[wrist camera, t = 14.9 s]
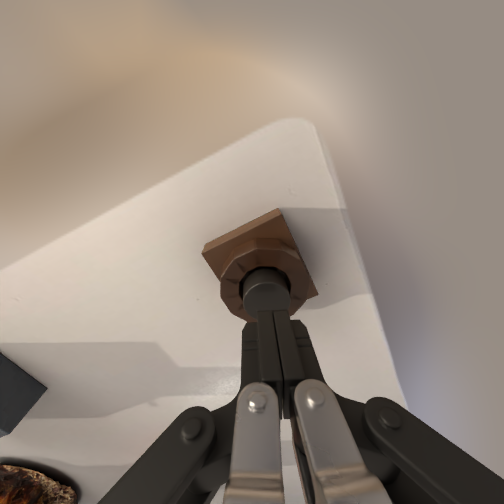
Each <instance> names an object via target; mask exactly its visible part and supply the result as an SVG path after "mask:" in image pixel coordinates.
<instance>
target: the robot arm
mask: <svg viewBox="0 0 504 504" xmlns="http://www.w3.org/2000/svg"><path fill="white" fill-rule="evenodd" d="M282 410H283V417H284V419H290V422H291V428H292V444H293V449H294V454H295V458H296V463H297V467H298V472H299V476H300V481H301V485H302V490H303V495H304V499H305V504H504V479H502V478H501V477H499V476H498V475H497V474H495V473H494V472H492V471H491V470H490V469H488V468H487V467H485V466H484V465H483V464H481V463H480V462H478V461H477V460H475V459H474V458H473V457H471V456H470V455H469V454H467V453H466V452H464V451H463V450H462V449H460V448H459V447H457V446H456V445H455V444H453V443H452V442H450V441H449V440H448V439H446V438H445V437H443V436H442V435H441V434H439V433H438V432H436V431H435V430H434V429H432V428H431V427H429V426H428V425H427V424H425V423H424V422H422V421H421V420H420V419H418V418H417V417H415V416H414V415H413V414H411V413H410V412H408V411H407V410H406V409H404V408H403V407H401V406H400V405H399V404H397V403H396V402H394V401H392V400H390V399H387V398H384V397H374V398H371V399H369V400H368V401H367V402H366V404H364V403H361V402H357V401H354V400H350V399H347V398H344V397H342V396H340V395H338V394H336V393H335V392H334V391H333V390H332V389H331V388H330V387H329V386H328V385H327V383H326V382H325V380H324V378H323V375H322V372H321V369H320V366H319V363H318V360H317V357H316V354H315V351H314V348H313V346H312V342H311V339H310V337H309V334H308V331H307V328H306V326H305V325H304V324H303V323H302V322H301V321H300V320H290V317H289V313H288V310H287V309H284V310H272V311H271V310H267V311H257V322H251V323H246V325H245V327H244V329H243V330H242V360H241V386H240V390H239V392H238V394H237V396H236V397H235V398H234V399H233V400H232V401H231V402H230V403H228V404H227V405H225V406H223V407H221V408H218V409H216V410H214V411H211V412H210V411H209V410H208V409H206V408H204V407H201V406H195V407H191V408H189V409H187V410H185V411H184V412H182V413H181V414H180V415H179V416H178V417H177V418H176V419H175V420H174V421H173V422H172V423H171V425H170V426H169V427H168V428H167V429H166V430H165V431H164V432H163V433H162V434H161V435H160V436H159V438H158V439H157V440H156V441H155V442H154V443H153V444H152V445H151V446H150V447H149V448H148V449H147V450H146V452H145V453H144V454H143V455H142V456H141V457H140V458H139V459H138V460H137V461H136V462H135V463H134V465H133V466H132V467H131V468H130V469H129V470H128V471H127V472H126V473H125V474H124V475H123V476H122V477H121V479H120V480H119V481H118V482H117V483H116V484H115V485H114V486H113V487H112V488H111V489H110V490H109V492H108V493H107V494H106V495H105V496H104V497H103V498H102V499H101V500H100V501H99V502H98V503H97V504H210V502H211V501H212V499H213V498H214V496H215V494H216V493H217V491H218V489H219V488H220V486H221V485H223V484H225V483H226V482H227V483H226V486H225V491H224V498H223V504H285V499H284V486H283V477H282V460H281V442H280V419H282Z"/></svg>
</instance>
